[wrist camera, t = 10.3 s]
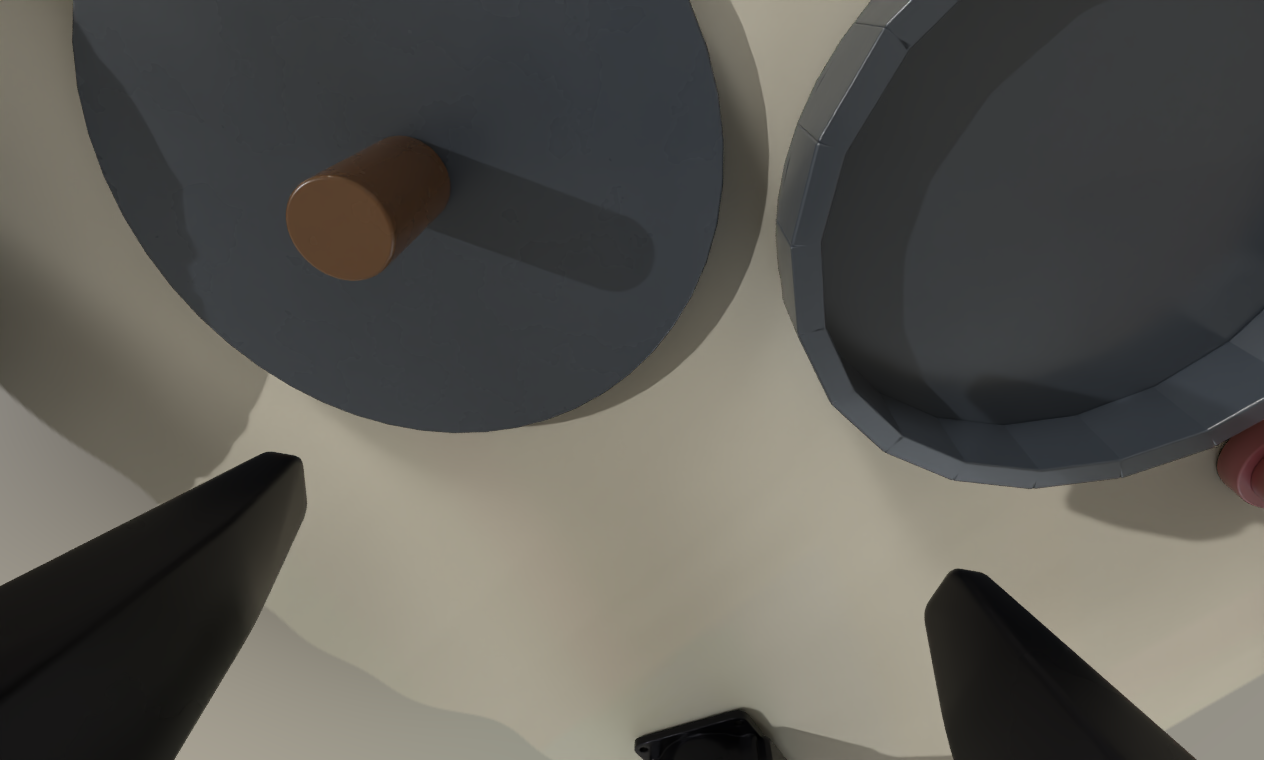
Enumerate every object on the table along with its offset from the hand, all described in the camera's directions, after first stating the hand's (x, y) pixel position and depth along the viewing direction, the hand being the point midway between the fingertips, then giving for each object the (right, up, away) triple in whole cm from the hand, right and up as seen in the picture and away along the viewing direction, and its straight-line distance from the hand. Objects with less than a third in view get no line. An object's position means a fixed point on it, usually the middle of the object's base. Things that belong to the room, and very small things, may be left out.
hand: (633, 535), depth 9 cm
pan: (+13, +7, +10) cm, 18 cm away
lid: (-6, +8, +9) cm, 14 cm away
